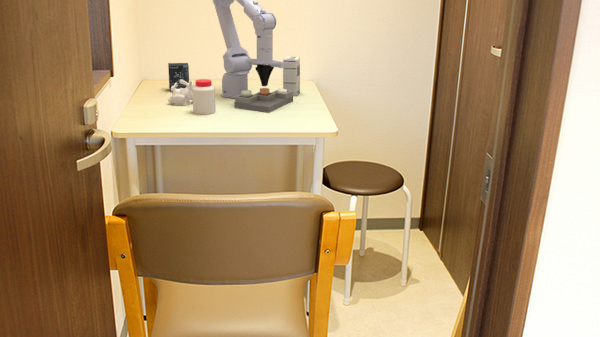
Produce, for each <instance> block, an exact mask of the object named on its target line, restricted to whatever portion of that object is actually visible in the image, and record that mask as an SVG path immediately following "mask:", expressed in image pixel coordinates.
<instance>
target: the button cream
mask: <svg viewBox="0 0 600 337" xmlns="http://www.w3.org/2000/svg"><path fill="white" fill-rule="evenodd" d="M276 90H277V93H287V89H283V88H278V89H276Z"/></svg>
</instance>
